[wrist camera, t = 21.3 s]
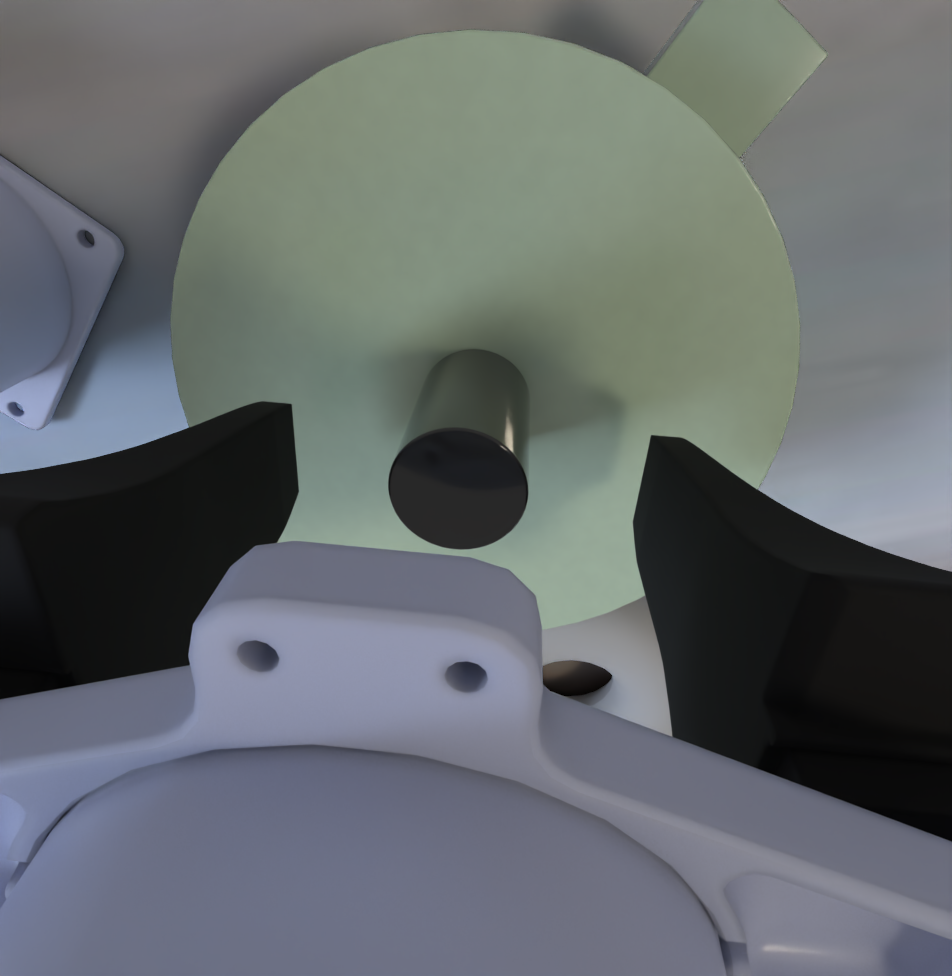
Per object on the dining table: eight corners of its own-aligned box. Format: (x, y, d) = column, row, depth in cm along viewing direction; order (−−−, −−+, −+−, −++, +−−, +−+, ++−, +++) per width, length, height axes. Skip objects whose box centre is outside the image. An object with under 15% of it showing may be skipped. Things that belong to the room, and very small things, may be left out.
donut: (706, 546, 25) (434, 548, 25) (732, 607, 22) (423, 608, 22) (679, 733, 30) (452, 731, 30) (697, 804, 27) (445, 800, 27)
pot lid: (105, 423, 17) (-44, 536, 13) (397, -164, 11) (306, -335, 7) (524, 679, 20) (520, 838, 16) (921, 333, 14) (1089, 437, 10)
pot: (189, 407, 23) (81, 504, 18) (514, -167, 15) (502, -315, 10) (481, 593, 26) (466, 725, 21) (877, 197, 18) (1023, 240, 13)
